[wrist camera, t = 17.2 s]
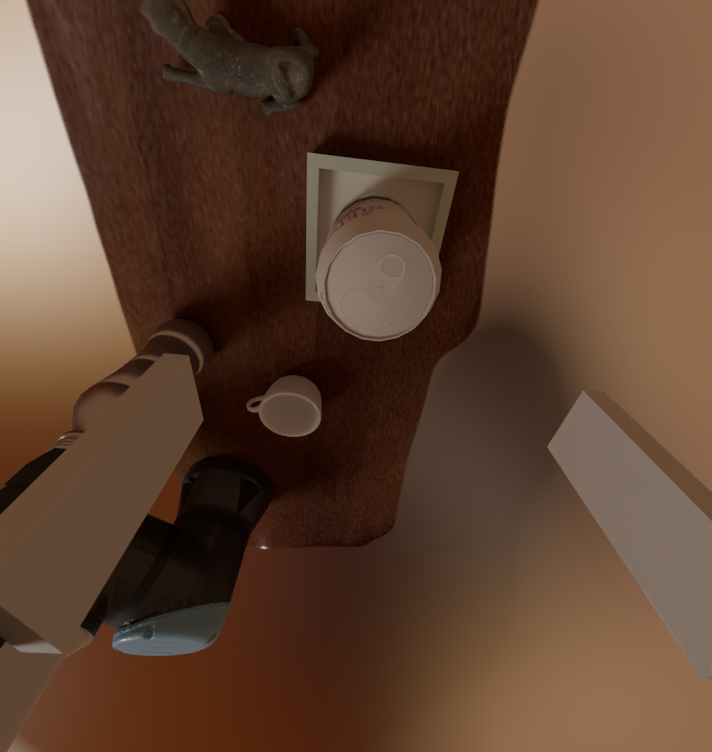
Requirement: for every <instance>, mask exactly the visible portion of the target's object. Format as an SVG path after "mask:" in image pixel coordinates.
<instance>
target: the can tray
mask: <svg viewBox="0 0 712 752" xmlns="http://www.w3.org/2000/svg"><path fill="white" fill-rule="evenodd" d="M458 174H459V171H453V170H445V169H437V168H429V167H421V166H413V165H405V164H397V163H389V162H381V161H373V160H365V159H357V158H348V157H340V156H332V155H324V154H316V153H307V225H306V300H309V301H319V302H321V301H320V299H319V297H318V291H317V283H316V271H317V267H318V262H319V258H320V254H321V251H322V249H323V247H324V244H325V242H326V240H327V237H328V235H329V233H330V231H331V228H332V226H333V224H334V221H335V219H336V218H337V216H338V215H339V213H340V212H341V210H342V209H343V207H344V206H345V205H346V204H348V203H349V202H350V201H352V200H353V199H355V198H356V197H358V196H362V195H366V194H370V193H376V194H383V195H388V196H390V197H391V198H393V199H395V200H396V201H398V202H399V203H401V204H402V205H403V206H404V208H405V209H406V210H407V211H408V212H409V214H410V215H411V216H412V217H413V218H414V220H415V221H416V222H417V223H418V224H419V226H420V227H421V228H422V229H423V231H424V232H425V233H426V235H427V236H428V237H429V239H430V240H431V242H432V243H433V244H434V246H435V247H436V249H437V253H438V256H439V252H440V248H441V244H442V240H443V235H444V231H445V227H446V223H447V219H448V215H449V211H450V207H451V203H452V199H453V194H454V190H455V186H456V182H457V178H458Z"/></svg>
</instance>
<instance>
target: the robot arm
mask: <svg viewBox="0 0 712 752" xmlns="http://www.w3.org/2000/svg"><path fill="white" fill-rule="evenodd" d="M203 420H204V419H203V415H202V410H201V406H200V402H199V397H198V393H197V389H196V384H195V380H194V376H193V371H192V367H191V363H190V358H189V355H178V354H167V353H164V354H163V355H162V356H161V357H160V358H159V359H158V360H157V361H156V362H155V363H154V364H153V365H152V366H151V367H150V368H149V369H148V370H147V371H146V372H145V373H144V374H143V375H142V376H141V377H140V378H139V379H138V380H136V381H135V382H134V383H133V384H132V385H131V386H130V387H129V388H128V389H127V390H126V391H125V392H124V393H123V394H122V395H121V396H120V397H119V398H118V399H117V400H116V401H115V402H114V403H113V404H112V405H111V406H110V407H109V408H108V409H107V410H106V411H105V412H104V413H103V414H102V415H101V416H100V417H99V418H98V419H97V420H96V421H95V422H94V423H93V424H92V425H91V426H90V427H89V428H88V429H87V430H86V431H85V432H84V433H83V434H82V435H81V436H80V437H79V438H78V439H77V440H76V441H75V442H74V443H73V444H72V445H71V446H70V447H68V448H67V449H64V448H53V449H51V450H50V451H48V452H46V453H45V454H43V455H41V456H40V457H38V458H36V459H35V460H33V461H31V462H29V463H28V464H26V465H25V466H24V467H23V468H22V469H21V470H20V471H19V472H17V473H16V474H15V475H14V476H13V477H12V478H11V479H10V480H9V481H8V482H7V483H5V484H4V488H3V489H0V752H7V751H8V749H9V748H10V746H11V744H12V743H13V741H14V739H15V738H16V736H17V734H18V733H19V731H20V729H21V728H22V726H23V724H24V723H25V721H26V720H27V718H28V716H29V715H30V713H31V711H32V710H33V708H34V706H35V705H36V703H37V701H38V700H39V698H40V696H41V695H42V693H43V692H44V690H45V688H46V687H47V685H48V683H49V681H50V680H51V678H52V677H53V675H54V673H55V672H56V670H57V668H58V667H59V665H60V663H61V662H62V661H63V660H64V659H66V658H67V657H68V656H69V655H71V654H73V653H74V652H76V651H78V650H79V649H81V648H83V647H84V646H86V645H88V644H89V643H90V642H91V641H92V639H93V638H94V636H95V634H96V632H97V631H98V629H99V627H100V625H101V624H102V625H107V626H111V627H114V628H116V629H117V631H116V632H115V634H114V635H113V642H112V645H113V648H114V649H116V650H120V651H122V652H124V653H128V654H135V655H149V656H153V655H154V656H163V655H164V656H165V655H178V654H186V653H192V652H195V651H199V650H202V649H204V648H206V647H208V646H209V645H211V644H212V643H213V642H214V641H215V639H217V637H218V635H219V633H220V631H221V628H222V625H223V622H224V620H225V617H226V614H227V611H228V609H229V608H230V605H231V603H230V601H231V598H232V595H233V591H234V588H235V584H236V581H237V578H238V574H239V571H240V567H241V564H242V560H243V557H244V553H245V550H246V546H247V543H248V540H249V537H250V534H251V533H252V531H253V529H254V528H255V526H256V525H257V523H258V522H259V520H260V519H261V517H262V516H263V514H264V513H265V511H266V510H267V508H268V506H269V504H270V500H271V497H272V492H273V489H272V485H271V482H270V481H269V479H268V478H267V477H266V475H265V474H263V473H262V472H261V471H260V470H258V469H257V468H255V467H253V466H251V465H249V464H247V463H244V462H242V461H238V460H234V459H228V458H211V459H206V460H202V461H200V462H197V463H196V464H194V465H193V466H192V467H191V468H190V469H189V471H188V473H187V474H186V476H185V478H184V480H183V482H182V486H181V493H180V499H179V505H178V512H177V517H176V519H175V522H174V523H173V525H172V524H170V523H168V522H166V521H164V520H161V519H159V518H156V517H154V516H152V515H150V514H148V512H149V510H150V508H151V507H152V505H153V503H154V502H155V500H156V498H157V497H158V495H159V493H160V492H161V490H162V488H163V487H164V485H165V483H166V482H167V480H168V478H169V477H170V475H171V473H172V472H173V470H174V468H175V467H176V465H177V463H178V462H179V460H180V458H181V457H182V455H183V453H184V452H185V450H186V448H187V447H188V445H189V443H190V442H191V440H192V438H193V437H194V435H195V433H196V432H197V430H198V428H199V427H200V425H201V423H202V422H203ZM547 447H548V449H549V450H550V452H551V453H552V455H553V456H554V458H555V459H556V461H557V462H558V464H559V465H560V467H561V468H562V470H563V471H564V473H565V474H566V476H567V477H568V479H569V480H570V482H571V483H572V485H573V486H574V488H575V489H576V491H577V492H578V494H579V495H580V497H581V498H582V500H583V501H584V503H585V504H586V506H587V508H588V509H589V511H590V512H591V514H592V515H593V517H594V518H595V520H596V521H597V523H598V524H599V525H600V527H601V529H602V530H603V532H604V533H605V535H606V536H607V538H608V539H609V541H610V542H611V544H612V545H613V547H614V548H615V550H616V551H617V553H618V554H619V556H620V557H621V559H622V560H623V562H624V563H625V565H626V566H627V568H628V569H629V571H630V572H631V574H632V575H633V577H634V578H635V580H636V581H637V583H638V584H639V586H640V587H641V589H642V590H643V592H644V593H645V595H646V596H647V598H648V599H649V601H650V602H651V604H652V606H653V607H654V608H655V610H656V612H657V613H658V615H659V616H660V618H661V619H662V620H663V622H664V624H665V625H666V627H667V628H668V629H669V631H670V633H671V634H672V636H673V637H674V639H675V640H676V642H677V643H678V645H679V646H680V648H681V649H682V651H683V652H684V654H685V655H686V657H687V658H688V660H689V661H690V663H691V664H692V666H693V667H694V669H695V670H696V672H697V673H698V675H699V676H700V678H701V679H712V492H711V491H710V490H708V489H707V488H706V487H705V486H704V485H703V484H702V483H701V482H700V481H699V480H698V479H697V478H696V477H695V476H693V475H692V474H691V473H690V472H689V471H688V470H687V469H686V468H685V467H684V466H683V465H682V464H681V463H680V462H678V461H677V460H676V459H675V458H674V457H673V456H672V455H671V454H670V453H669V452H668V451H667V450H666V449H664V447H662V446H661V445H660V444H659V443H658V442H657V441H656V440H655V439H654V438H653V437H652V436H651V435H650V434H648V432H646V431H645V430H644V429H643V428H642V427H641V426H640V425H639V424H638V423H637V422H636V421H635V420H634V419H632V418H631V417H630V416H629V415H628V414H627V413H626V412H625V411H624V410H623V409H622V408H621V407H620V406H619V405H618V404H616V403H615V402H614V401H613V400H612V399H611V398H610V397H609V396H608V395H607V394H606V393H604V392H593V391H583V392H582V393H581V395H580V396H579V398H578V400H577V401H576V403H575V404H574V406H573V407H572V409H571V411H570V412H569V414H568V415H567V417H566V418H565V420H564V422H563V423H562V425H561V426H560V428H559V429H558V431H557V432H556V434H555V436H554V437H553V439H552V440H551V442H550V443H549V445H548V446H547Z"/></svg>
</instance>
